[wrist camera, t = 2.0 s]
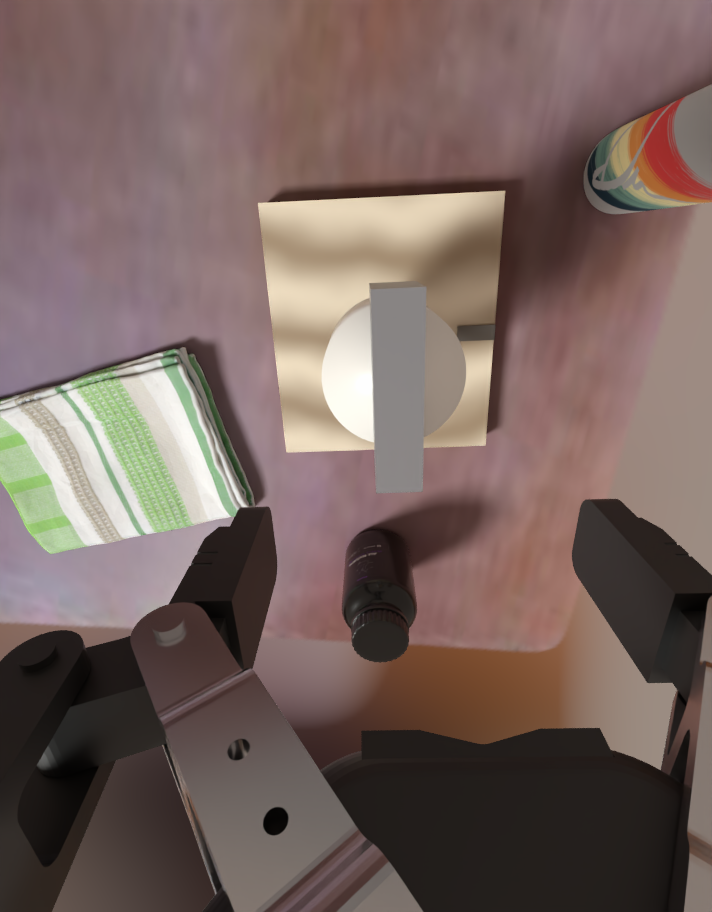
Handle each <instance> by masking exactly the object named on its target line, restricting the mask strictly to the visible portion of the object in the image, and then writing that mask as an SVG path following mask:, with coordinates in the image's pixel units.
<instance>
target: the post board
mask: <svg viewBox="0 0 712 912" xmlns="http://www.w3.org/2000/svg"><path fill="white" fill-rule="evenodd" d="M504 201H505V191H490V192H470V193H450V194H430V195H410V196H390V197H370V198H350V199H330V200H310V201H290V202H270V203H258V208H259V216H260V225H261V234H262V243H263V252H264V260H265V269H266V278H267V287H268V295H269V304H270V313H271V322H272V330H273V339H274V348H275V357H276V365H277V374H278V383H279V392H280V400H281V409H282V418H283V427H284V435H285V444H286V452H315V451H343V450H372V449H374V442H370V441H367V440H365V439H362V438H360V437H358V436H356V435H355V434H353V433H351V432H350V431H349V430H347V429H346V428H345V427H344V426H343V425H342V424H341V423H340V422H339V421H338V420H337V419H336V417H335V416H334V415H333V413H332V411H331V410H330V408H329V406H328V404H327V402H326V399H325V396H324V392H323V387H322V364H323V360H324V356H325V352H326V349H327V347H328V344H329V341H330V338H331V335H332V333H333V331H334V329H335V327H336V325H337V323H338V322H339V320H340V319H341V318H342V317H343V315H344V314H345V313H346V312H347V311H348V310H349V309H351V308H352V307H353V306H355V305H356V304H358V303H359V302H361V301H363V300H365V299H368V298H370V294H369V283H383V282H405V281H417V282H419V283H421V284H422V285H424V286H426V306H427V307H429V308H430V309H431V310H432V311H433V312H434V313H435V314H437V315H438V316H439V317H440V318H441V319H442V320H443V321H445V322H446V323H447V324H448V325H449V327H450V328H451V329H452V330H453V331H454V333H455V335H456V336H457V338H458V340H459V342H460V344H461V346H462V349H463V352H464V356H465V361H466V382H465V387H464V391H463V395H462V397H461V400H460V402H459V404H458V406H457V407H456V409H455V411H454V412H453V414H452V415H451V416H450V418H449V419H448V420H447V421H446V422H445V423H444V424H443V425H442V426H441V427H439V428H438V429H437V430H436V431H434V432H433V433H431V434H430V435H428V436H426V437H424V447H423V448H429V447H457V446H485V444H486V431H487V419H488V406H489V393H490V380H491V367H492V355H493V342H494V338H495V316H496V303H497V290H498V278H499V265H500V252H501V239H502V226H503V213H504Z"/></svg>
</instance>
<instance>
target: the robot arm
mask: <svg viewBox="0 0 712 912" xmlns="http://www.w3.org/2000/svg"><path fill="white" fill-rule="evenodd" d="M572 561H573V566H574V570H575V573H576V575H577V576H578V578H579V579H580V581H581V583H582V584H583V586H584V587H585V589H586V590H587V592H588V593H589V595H590V596H591V597H592V599H593V601H594V602H595V604H596V605H597V607H598V608H599V610H600V611H601V613H602V614H603V616H604V617H605V619H606V620H607V622H608V623H609V625H610V627H611V628H612V630H613V631H614V633H615V634H616V636H617V637H618V639H619V640H620V642H621V643H622V645H623V646H624V648H625V649H626V651H627V652H628V654H629V655H630V657H631V658H632V660H633V662H634V663H635V665H636V666H637V668H638V669H639V671H640V672H641V674H642V675H643V677H644V678H645V680H646V681H647V683H673V684H674V686H675V687H676V688H677V691H676V694H675V697H674V700H673V704H672V709H671V715H670V720H669V726H668V732H667V738H666V743H665V748H664V754H663V761H662V765H661V770H659V769H657V768H655V767H653V766H651V765H650V764H647V763H645V762H643V761H640V760H638V759H636V758H634V757H631V756H628V755H625V754H622V753H619V752H616V751H612V750H610V748H609V746H608V744H607V742H606V740H605V738H604V736H603V734H602V732H601V730H600V728H564V729H538V730H535V731H531V732H528V733H524V734H521V735H518V736H514V737H511V738H507V739H503V740H500V741H497V742H493V743H490V744H476V743H472V742H468V741H463V740H459V739H455V738H451V737H446V736H442V735H438V734H434V733H429V732H425V731H421V730H391V731H388V730H387V731H362V751H359V752H356V753H352V754H349V755H347V756H345V757H343V758H340V759H338V760H336V761H335V762H333V763H331V764H329V765H328V766H326V767H324V768H323V769H322V770H319V769H318V767H317V766H316V764H315V763H314V761H313V760H312V758H311V757H310V755H309V754H308V752H307V751H306V749H305V747H304V746H303V744H302V743H301V741H300V740H299V738H298V737H297V736H296V734H295V732H294V731H293V729H292V728H291V726H290V725H289V723H288V722H287V720H286V719H285V717H284V716H283V714H282V712H281V711H280V709H279V708H278V706H277V705H276V703H275V702H274V700H273V699H272V697H271V696H270V694H269V693H268V691H267V690H266V688H265V687H264V685H263V684H262V682H261V681H260V679H259V678H258V676H257V675H256V674H255V672H254V671H253V670H252V668H253V665H254V661H255V657H256V653H257V650H258V646H259V642H260V638H261V634H262V631H263V627H264V623H265V619H266V615H267V612H268V608H269V604H270V600H271V596H272V593H273V589H274V585H275V581H276V575H277V554H276V546H275V539H274V531H273V523H272V515H271V511H270V508H269V507H240V508H239V509H238V511H237V513H236V515H235V518H234V520H233V522H232V524H231V526H230V527H218V528H217V529H216V530H215V531H213V532H212V533H211V534H210V535H209V536H207V537H206V538H205V539H204V541H203V543H202V545H201V546H200V548H199V550H198V552H197V555H195V557H194V559H193V561H192V563H191V566H189V568H188V570H187V572H186V574H185V576H184V577H183V579H182V581H181V583H180V585H179V586H178V588H177V590H176V592H175V594H174V596H173V597H172V599H171V601H170V603H169V605H165V606H162V607H160V608H158V609H156V610H154V611H152V612H150V613H149V614H147V615H146V616H145V617H143V618H142V619H141V620H140V621H139V622H138V623H137V625H136V626H135V627H134V629H133V631H132V633H131V636H129V637H126V638H122V639H119V640H115V641H111V642H107V643H103V644H99V645H96V646H92V647H88V648H85V645H84V642H83V640H82V638H81V636H80V635H79V634H77V633H75V632H72V631H67V630H60V631H53V632H48V633H45V634H41V635H39V636H36V637H34V638H32V639H30V640H28V641H26V642H24V643H22V644H21V645H19V646H17V647H16V648H15V649H13V650H12V651H11V652H10V653H8V655H6V656H5V657H4V658H3V659H2V660H1V661H0V912H52V910H53V908H54V905H55V903H56V900H57V898H58V896H59V893H60V891H61V889H62V886H63V884H64V882H65V879H66V877H67V874H68V872H69V870H70V867H71V865H72V863H73V860H74V858H75V856H76V853H77V851H78V849H79V846H80V844H81V842H82V839H83V837H84V834H85V832H86V830H87V827H88V825H89V822H90V820H91V818H92V816H93V813H94V811H95V809H96V806H97V804H98V801H99V799H100V797H101V794H102V792H103V790H104V787H105V785H106V783H107V780H108V778H109V776H110V773H111V771H112V769H113V766H114V764H115V761H116V760H117V759H121V758H123V757H127V756H130V755H133V754H136V753H139V752H142V751H145V750H148V749H151V748H154V747H158V746H161V745H163V748H164V751H165V753H166V756H167V759H168V761H169V764H170V767H171V770H172V772H173V775H174V778H175V781H176V784H177V786H178V789H179V792H180V795H181V797H182V800H183V803H184V806H185V808H186V811H187V814H188V816H189V819H190V822H191V825H192V828H193V830H194V833H195V836H196V839H197V842H198V845H199V848H200V851H201V854H202V857H203V860H204V863H205V865H206V868H207V871H208V874H209V877H210V880H211V883H212V885H213V888H214V891H215V893H216V895H215V896H214V898H213V899H212V900H211V901H210V902H209V904H208V905H207V906H206V908H205V909H204V910H203V911H202V912H712V575H711V574H710V573H709V572H708V571H707V570H706V569H704V568H703V567H702V566H701V565H700V564H699V563H698V562H697V561H696V560H695V559H694V558H693V557H689V555H688V553H687V552H686V551H685V550H684V549H683V548H682V547H681V546H680V545H677V544H676V542H675V541H674V540H673V539H672V538H671V537H670V536H669V535H668V534H667V533H666V532H665V531H664V530H663V529H661V528H659V527H657V526H656V525H654V524H652V523H650V522H648V521H646V520H644V519H643V518H638V517H636V515H635V514H634V513H632V512H631V511H630V510H629V509H628V508H627V507H626V506H625V505H624V504H623V503H622V502H621V501H620V500H618V499H591V500H585V501H584V502H583V503H582V505H581V507H580V512H579V517H578V523H577V528H576V534H575V539H574V544H573V550H572Z"/></svg>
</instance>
